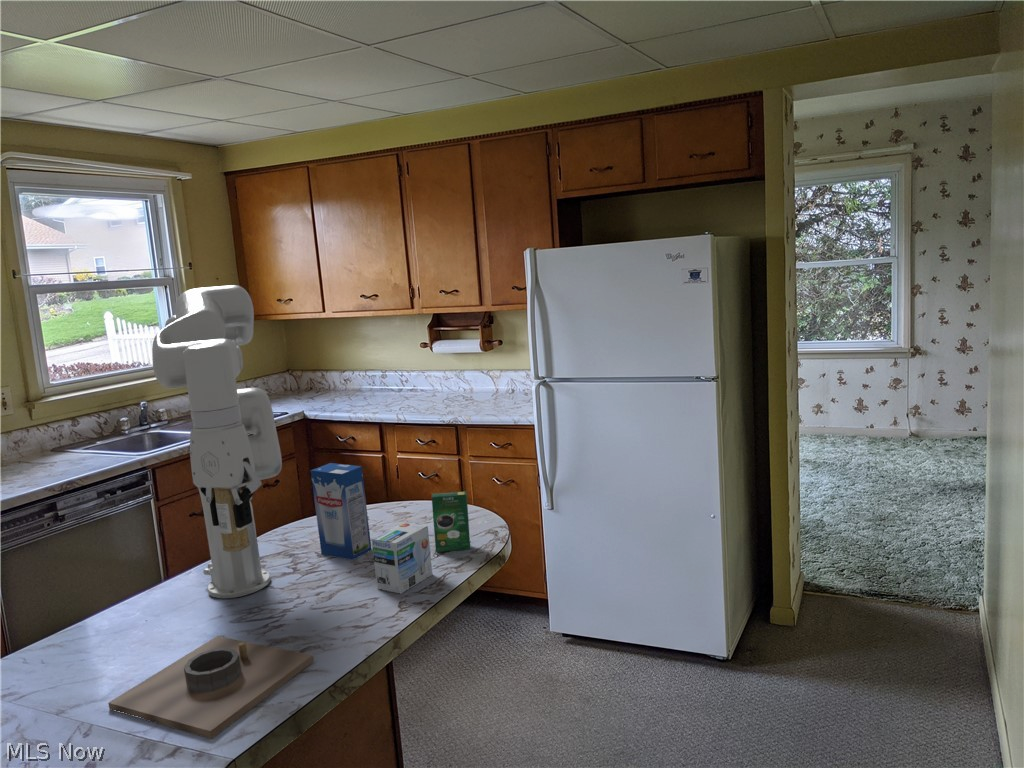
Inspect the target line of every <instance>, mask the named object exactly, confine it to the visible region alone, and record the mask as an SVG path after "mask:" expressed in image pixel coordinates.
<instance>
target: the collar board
mask: <svg viewBox="0 0 1024 768" xmlns="http://www.w3.org/2000/svg"><path fill="white" fill-rule="evenodd" d="M313 663H314V656H313V654H308V653H305V652H298V651H294V650H289V649H284V648H279V647H275V646H268V645H265V644H259V643H256V642H255V643H254V642H250V641H249V642H248V641H245V640H241V639H240V640H239V639H235V638H229V637H225V636H221V635H217V636H214V638H212V639H210V640H208V641H206V642H205V643H203V644H202V645H201V646H198V647H197V648H196V649H194V650H192V651H191V652H189V653H187V654H186V655H184V656H182V657H180V658H179V659H177V660H176V661H174V662H172V663H171V664H169V665H168V666H166V667H164V668H162V669H161V670H160V671H158V672H156V673H155V674H152V675H151V676H149V677H148V678H146V679H145V680H143V681H141V682H140V683H138V684H137V685H135V686H133V687H132V688H129V690H127V691H125V692H124V693H122V694H120V695H118V696H117V697H115V698H113V699H112V700H110V701H109V702H108V708H109V710H110V709H112V710H116V711H120V712H124V713H127V714H130V715H134V716H138V717H141V718H144V719H146V720H145V721H147V720H150V721H149V722H151V721H152V722H151V723H154V722H156V723H155V724H158V723H159V724H158V725H161V724H163V725H162V726H165V725H166V726H165V727H168V726H169V727H168V728H172V729H176V730H180V731H183V732H186V733H190V734H192V735H193V734H194V735H197V736H201V737H203V736H204V738H208V739H213V738H215V737H216V736H217V735H219V734H220V733H221V732H222V731H224V730H225V729H227V728H228V727H229V726H231V725H232V724H233V723H235V722H236V721H237V720H239V719H240V718H241V717H242V716H244V715H245V714H247V713H248V712H249V711H251V710H252V709H253V708H255V707H256V706H257V705H258V704H260V703H261V702H262V701H263V700H265V699H266V698H268V697H269V696H271V694H273V693H274V692H275V691H277V690H278V689H280V688H281V687H282V686H284V684H286V683H288V681H290V680H292V678H294V677H295V676H297V675H298V674H300V672H302V671H304V670H305V669H306V668H307V667H308V666H310V665H311V664H313ZM112 710H111V711H112ZM116 711H115V712H116ZM130 715H129V716H130ZM144 719H143V720H144Z"/></svg>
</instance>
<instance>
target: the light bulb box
mask: <svg viewBox="0 0 1024 768" xmlns="http://www.w3.org/2000/svg"><path fill="white" fill-rule="evenodd" d="M370 541H371V549H372V555H373V556H372V557H373V564H374V571H375V573H374V574H375V581H376V589H378V590H381V589H382V591H386V590H387V592H390V593H396V594H399V593H400V595H401V594H403V593H405V592H407V591H408V590H410V589H411V588H414V587H415V586H417V585H418V584H420V583H421V582H423V581H424V580H426V579H428V578H429V577H431V576H432V575H433V568H432V567H433V566H432V565H433V563H432V556H431V555H432V554H431V546H430V537H429V527H428V525H423V524H416V523H411V522H405V521H404V522H402V523H400V524H398V525H397V526H394V527H392V528H391V529H390V528H389V530H386V531H384V532H383V533H381V534H379V535H377V536H375V537H373V538H370ZM427 577H428V578H427ZM419 582H420V583H419ZM409 588H410V589H409ZM406 590H407V591H406Z"/></svg>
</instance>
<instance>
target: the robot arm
mask: <svg viewBox="0 0 1024 768" xmlns="http://www.w3.org/2000/svg"><path fill="white" fill-rule="evenodd" d="M174 312H175V314H173V315H172V316H170V317H169V318H168V319H167V320H166V322H165V324H164V325H165V326H164V327H163V328H162V329H160V330H159V331H158V332H157V333H156V335H154V338H153V341H152V349H151V353H152V355H151V356H152V369H153V373H154V376H155V377H154V378H155V379H156V381H157V382H158V383H159V384H160V386H162V387H164V388H168V389H178V388H185V387H186V388H187V395H188V402H189V406H190V418H191V421H192V427H193V428H191V429H190V433H189V435H190V436H189V455H190V456H189V457H190V459H189V460H190V467H191V475H192V484H193V485H194V486H195V487H196V488H197V489H198V492H199V496H200V499H201V506H202V510H203V516H204V523H205V528H206V536H207V542H208V549H209V555H210V556H209V557H210V560H211V561H210V562H209V563H208V564H207V567H205V568H204V569H203V575H205V576H210V578H211V579H210V581H211V582H209V584H208V585H207V594H208V595H209V596H210V597H213V598H217V599H233V598H239V597H243V596H248V595H250V594H253V593H256V592H258V591H260V590H262V589H264V588H265V587H266V586H267V585H268V584H270V581H271V574H270V572H269V571H267V570H266V569H262V564H261V558H260V550H259V545H258V544H259V543H258V539H257V538H258V537H257V531H256V523H255V522H256V521H255V516H254V509H253V504H252V500H253V496H254V493H255V492H256V491H257V490H258V489H259V488H260V487H261V486H262V483H263V482H262V480H266V479H271V478H274V477H276V476H278V474H280V472H281V470H282V466H283V462H282V461H283V460H282V451H281V447H280V446H281V445H280V442H279V437H278V431H277V428H276V423H275V417H274V412H273V411H274V410H273V408H272V404H271V400H270V397H269V396H268V394H267V392H266V391H265V390H264V389H262V388H260V387H246V388H238V387H237V380H236V378H238V377H239V375H240V374H241V371H242V370H243V369H244V368H243V367H244V361H243V360H244V357H243V353H242V349H241V347H240V346H245V345H247V344H250V342H251V341H252V339H253V338H254V323H255V322H254V321H255V320H254V318H255V313H254V312H255V311H254V304H253V301H252V298H251V296H250V294H249V293H248V291H247V290H246V289H245V288H244V287H242V286H241V285H236V284H229V285H220V286H218V285H217V286H206V287H196V288H191V289H188V290H185V291H184V292H182V293H181V294H180V295H179V296H178V297H177V299H176V301H175V305H174ZM248 433H249V434H251V435H248ZM214 488H221V489H231V491H232V494H233V497H234V500H235V503H236V504H235V505H233V511H234V518H235V524H236V527H237V528H241V527H243V526H245V525H247V531H248V537H249V541H250V545H249V546H248V547H247V548H245V549H243V550H240V551H234V552H227V551H224V550H223V548H222V547H223V543H222V536H221V532H220V527H219V521H218V515H217V508H216V500H215V493H214ZM239 488H241V494H240V491H239Z"/></svg>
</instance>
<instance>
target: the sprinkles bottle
mask: <svg viewBox="0 0 1024 768" xmlns="http://www.w3.org/2000/svg"><path fill="white" fill-rule="evenodd" d="M239 491H240V494H241V491H242V488H239ZM214 493H215V500H216V508H217V515H218V521H219V527H220V532H221V536H222V543H223V547H222V548H223V550H224V551H227V552H234V551H240V550H243V549H245V548H247V547H248V546H249V545H250V541H249V537H248V531H247V525H245V526H243V527H241V528H237V527H236V524H235V518H234V511H233V505H235V504H236V503H235V500H234V497H233V494H232V491H231V489H221V488H214Z"/></svg>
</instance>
